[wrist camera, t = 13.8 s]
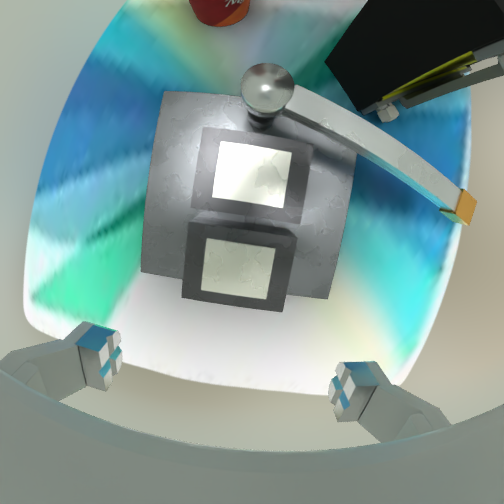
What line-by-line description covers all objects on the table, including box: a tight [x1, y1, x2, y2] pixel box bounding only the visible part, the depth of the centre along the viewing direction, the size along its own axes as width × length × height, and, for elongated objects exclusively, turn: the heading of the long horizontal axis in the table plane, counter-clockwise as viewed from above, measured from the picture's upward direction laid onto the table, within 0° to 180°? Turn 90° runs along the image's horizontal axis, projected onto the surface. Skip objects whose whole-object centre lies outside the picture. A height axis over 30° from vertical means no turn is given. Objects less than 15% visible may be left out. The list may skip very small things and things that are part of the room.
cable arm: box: [241, 63, 477, 225], centre depth 16 cm, size 20×3×2 cm, turn 67°
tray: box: [141, 91, 357, 312], centre depth 21 cm, size 17×18×6 cm
